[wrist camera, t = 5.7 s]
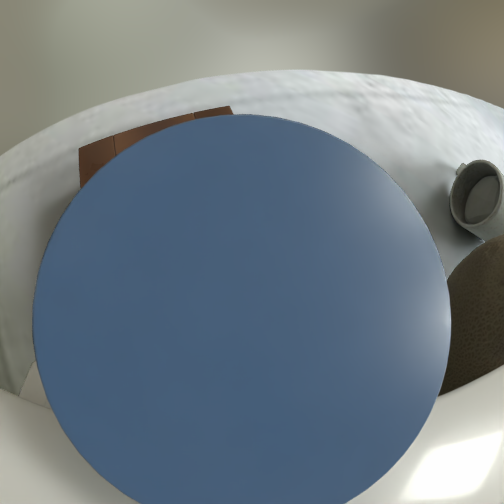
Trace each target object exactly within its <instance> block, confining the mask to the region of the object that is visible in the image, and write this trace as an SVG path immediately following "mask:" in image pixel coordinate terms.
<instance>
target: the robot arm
mask: <svg viewBox="0 0 504 504" xmlns="http://www.w3.org/2000/svg"><path fill="white" fill-rule="evenodd" d="M0 504H140V503H138V502H136V501H135V500H133V499H131V498H130V497H128V496H126V495H125V494H123V493H122V492H121V491H119V490H118V489H117V488H115V487H114V486H113V485H111V484H110V483H109V482H108V481H106V480H105V479H104V478H103V477H102V476H100V475H99V474H98V473H97V472H96V471H95V470H94V469H93V468H92V467H91V465H90V464H89V463H88V462H87V461H86V460H85V459H84V458H83V457H82V456H81V455H80V454H79V452H78V451H77V450H76V448H75V447H74V446H73V444H72V443H71V441H70V440H69V438H68V437H67V436H66V434H65V433H64V431H63V430H62V428H61V426H60V424H59V423H58V421H57V419H56V417H55V415H54V413H53V411H52V409H51V406H50V404H49V402H48V400H47V398H46V395H45V392H44V389H43V385H42V382H41V379H40V376H39V372H38V369H37V363H36V361H34V362H33V363H32V365H31V367H30V369H29V372H28V374H27V376H26V379H25V381H24V383H23V386H22V388H21V391H20V393H19V396H17V395H14V394H12V393H10V392H8V391H6V390H3V389H1V388H0ZM345 504H504V364H503V365H502V366H500V367H498V368H497V369H495V370H493V371H491V372H489V373H488V374H486V375H484V376H482V377H480V378H478V379H476V380H474V381H472V382H470V383H468V384H466V385H464V386H461V387H459V388H457V389H455V390H453V391H450V392H448V393H446V394H443V395H441V396H438V397H437V399H436V402H435V404H434V407H433V409H432V411H431V413H430V415H429V417H428V419H427V421H426V423H425V424H424V426H423V428H422V430H421V431H420V433H419V435H418V436H417V438H416V439H415V440H414V442H413V443H412V445H411V446H410V447H409V449H408V450H407V451H406V453H405V454H404V455H403V456H402V457H401V459H400V460H399V461H398V462H397V463H396V464H395V465H394V466H393V467H392V468H391V469H390V470H389V471H388V472H387V473H386V474H385V475H384V476H383V477H382V478H381V479H379V480H378V481H377V482H376V483H375V484H373V485H372V486H371V487H370V488H368V489H367V490H366V491H364V492H363V493H361V494H360V495H358V496H357V497H355V498H353V499H352V500H350V501H349V502H347V503H345Z"/></svg>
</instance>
